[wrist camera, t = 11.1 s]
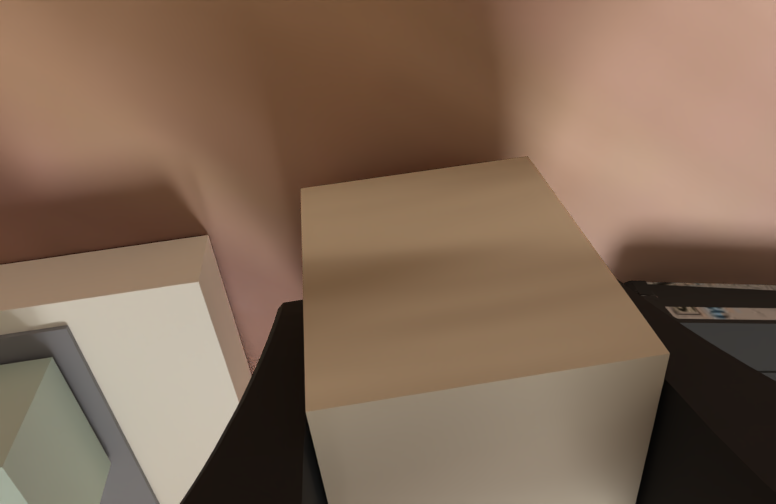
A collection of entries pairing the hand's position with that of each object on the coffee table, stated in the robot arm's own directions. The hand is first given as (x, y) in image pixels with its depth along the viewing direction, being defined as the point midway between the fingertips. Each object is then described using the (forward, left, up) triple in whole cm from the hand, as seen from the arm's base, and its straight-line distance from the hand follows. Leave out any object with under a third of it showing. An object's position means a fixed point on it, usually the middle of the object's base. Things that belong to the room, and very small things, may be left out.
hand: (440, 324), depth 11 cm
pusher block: (0, 0, -2) cm, 2 cm away
